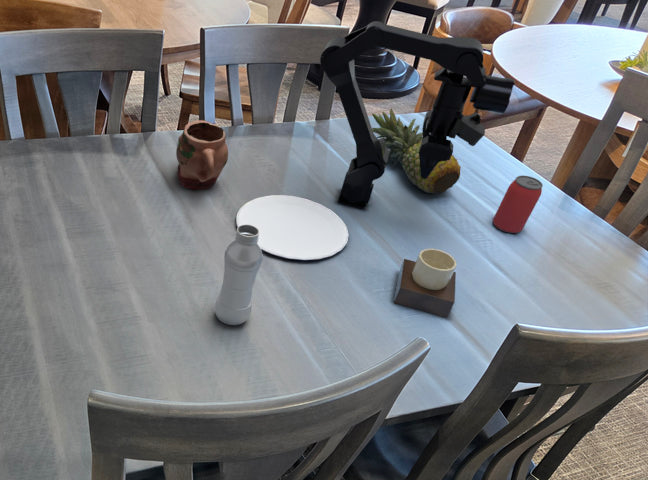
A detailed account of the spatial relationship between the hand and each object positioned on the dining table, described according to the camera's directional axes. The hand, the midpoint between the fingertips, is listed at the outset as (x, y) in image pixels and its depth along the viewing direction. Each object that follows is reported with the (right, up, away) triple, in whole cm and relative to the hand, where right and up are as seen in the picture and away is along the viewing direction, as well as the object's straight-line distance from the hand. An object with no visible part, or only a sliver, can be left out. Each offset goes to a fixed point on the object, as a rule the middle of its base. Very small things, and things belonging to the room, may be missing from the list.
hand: (424, 168), depth 141 cm
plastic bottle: (-46, -32, -23) cm, 61 cm away
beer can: (+22, -13, +6) cm, 26 cm away
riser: (-7, -28, -15) cm, 33 cm away
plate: (-30, -14, 0) cm, 33 cm away
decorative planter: (-50, -1, +13) cm, 51 cm away
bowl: (-7, -25, -18) cm, 31 cm away
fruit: (+6, +4, +24) cm, 25 cm away
